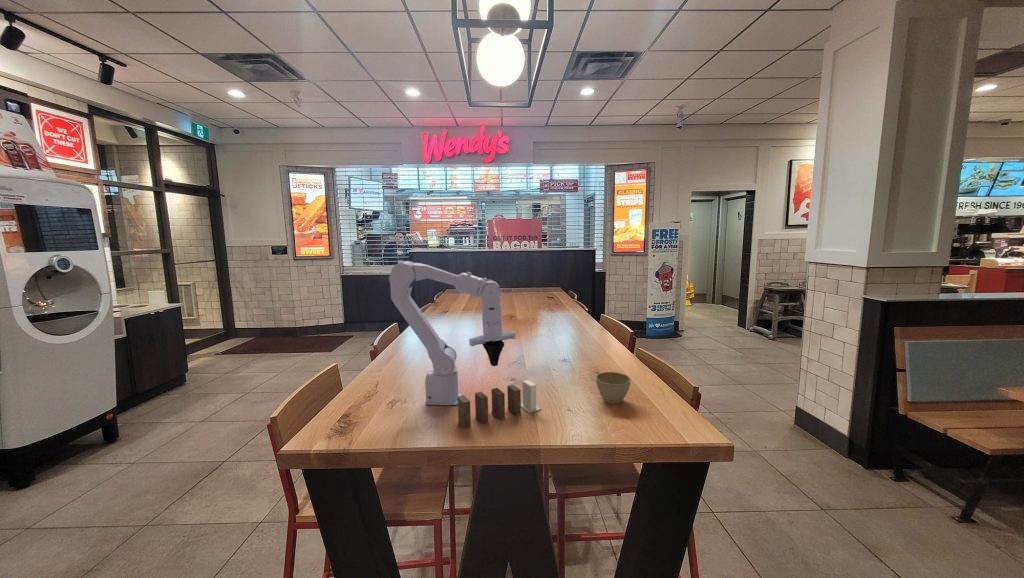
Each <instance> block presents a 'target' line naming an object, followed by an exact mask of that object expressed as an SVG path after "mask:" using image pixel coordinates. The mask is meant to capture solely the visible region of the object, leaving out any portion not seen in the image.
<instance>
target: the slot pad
mask: <svg viewBox="0 0 1024 578" xmlns="http://www.w3.org/2000/svg"><path fill="white" fill-rule="evenodd" d="M521 409H523V410H524V411H526V412H527V413H529V414H532V413H535V412H539V411H541V410H542V408H541V407H540V406H538V405H536V409H532V410H530V409H529V408H528V407H526V406H525V405H523V402H521Z"/></svg>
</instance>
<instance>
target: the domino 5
mask: <svg viewBox="0 0 1024 578" xmlns="http://www.w3.org/2000/svg"><path fill="white" fill-rule="evenodd" d="M522 403H523V405H525V406H526V407H528V408H529V409H530V410H532V409H536V406H537V384H535V383H534V382H532V381H530V380H529V379H526V380H522Z"/></svg>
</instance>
